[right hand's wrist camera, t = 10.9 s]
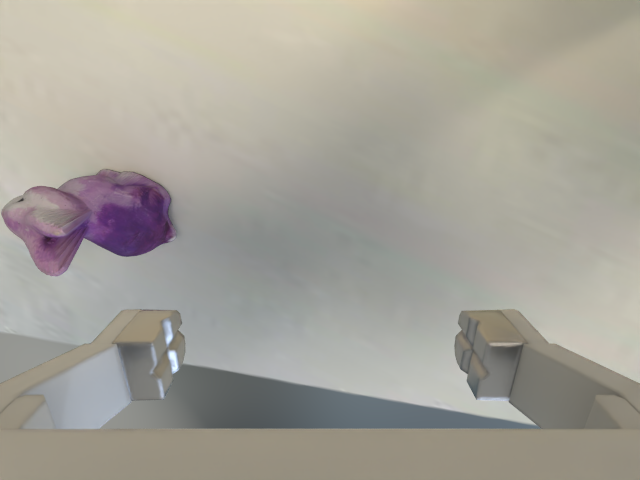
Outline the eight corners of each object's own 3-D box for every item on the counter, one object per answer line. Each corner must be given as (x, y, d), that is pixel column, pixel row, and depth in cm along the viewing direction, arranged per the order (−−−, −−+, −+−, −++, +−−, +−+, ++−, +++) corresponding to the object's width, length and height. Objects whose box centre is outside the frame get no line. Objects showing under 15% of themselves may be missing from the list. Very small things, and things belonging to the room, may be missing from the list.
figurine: (70, 172, 40) (-66, 212, 26) (158, 155, 39) (68, 187, 25) (103, 249, 43) (0, 322, 29) (185, 235, 42) (120, 303, 28)
